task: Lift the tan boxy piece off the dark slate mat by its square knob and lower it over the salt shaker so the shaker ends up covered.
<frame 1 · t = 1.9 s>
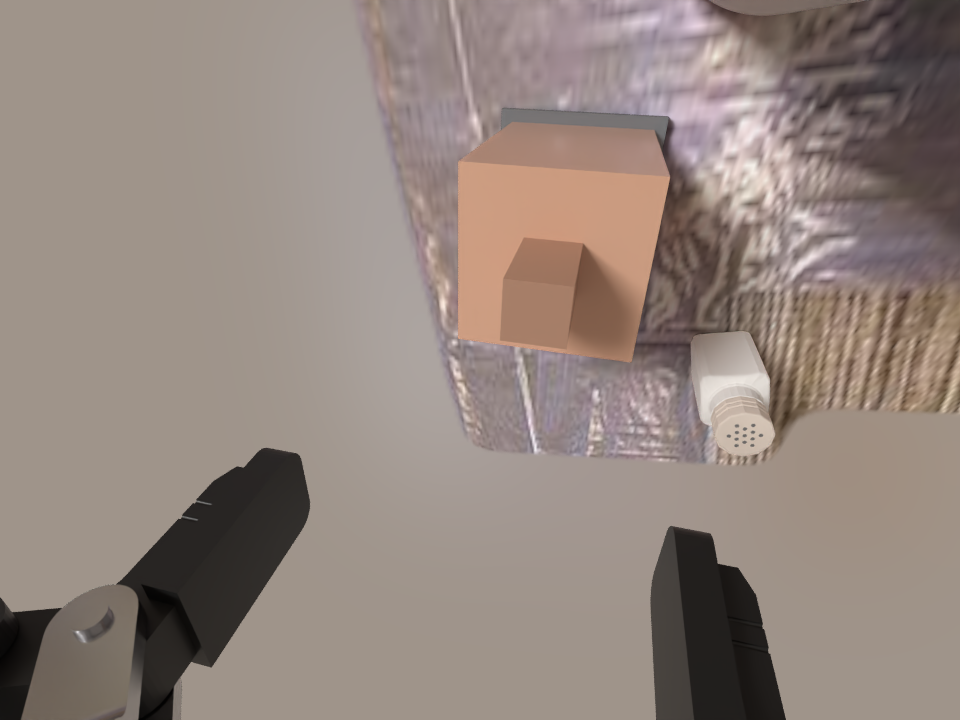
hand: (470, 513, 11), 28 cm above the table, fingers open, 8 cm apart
tan boxy piece: (573, 197, 34), point 1 cm above the table, touching mat
salt shaker: (719, 352, 38), on the table
mat: (573, 194, 35), on the table
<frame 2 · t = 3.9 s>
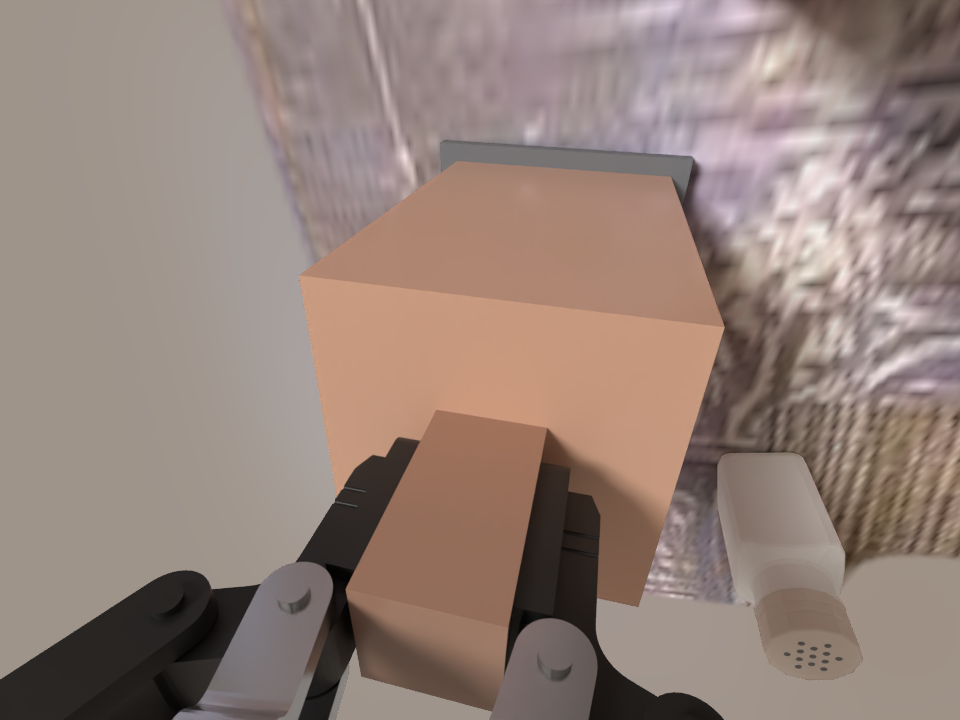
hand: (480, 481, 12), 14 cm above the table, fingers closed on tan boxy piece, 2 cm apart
tan boxy piece: (549, 268, 23), point 1 cm above the table, touching gripper, mat
salt shaker: (756, 474, 27), on the table
mat: (550, 264, 24), on the table
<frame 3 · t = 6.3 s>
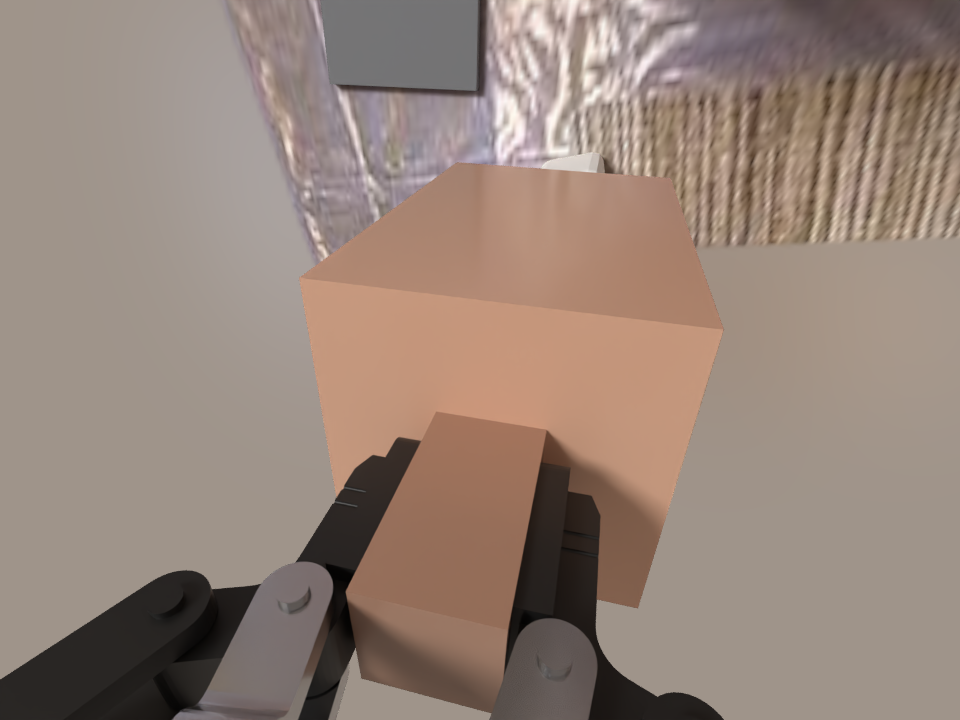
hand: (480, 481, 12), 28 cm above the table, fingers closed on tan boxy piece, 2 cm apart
tan boxy piece: (549, 270, 23), point 14 cm above the table, touching gripper
salt shaker: (575, 185, 35), on the table
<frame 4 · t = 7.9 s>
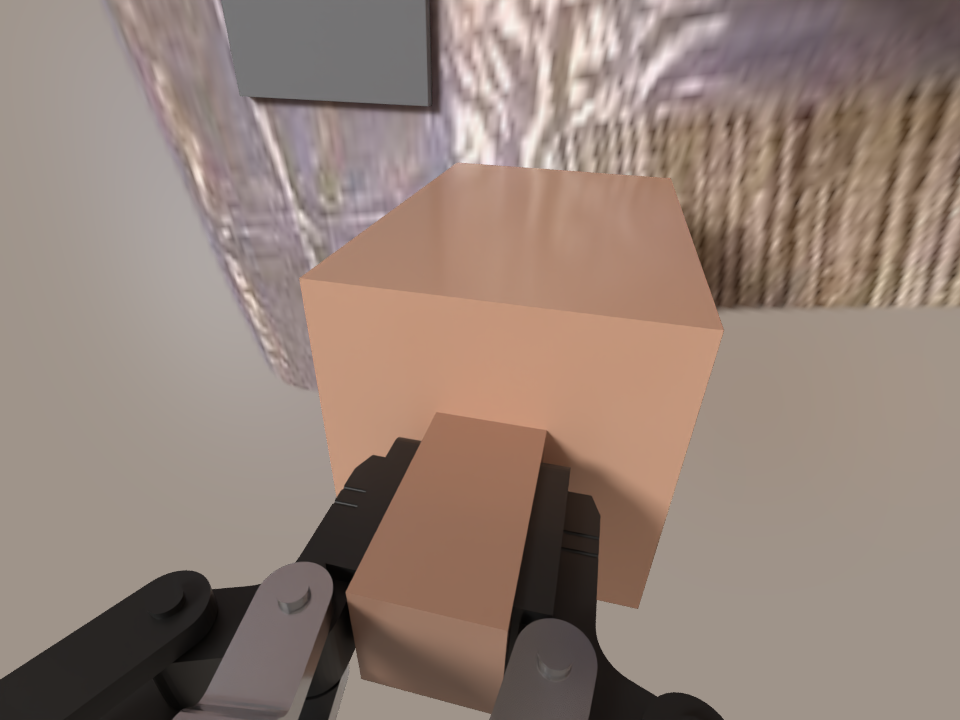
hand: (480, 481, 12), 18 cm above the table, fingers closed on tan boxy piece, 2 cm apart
tan boxy piece: (549, 270, 23), point 4 cm above the table, touching gripper
when the fingers open (14 cm above the table, at t = 8.9 s): tan boxy piece stays where it is, on the table.
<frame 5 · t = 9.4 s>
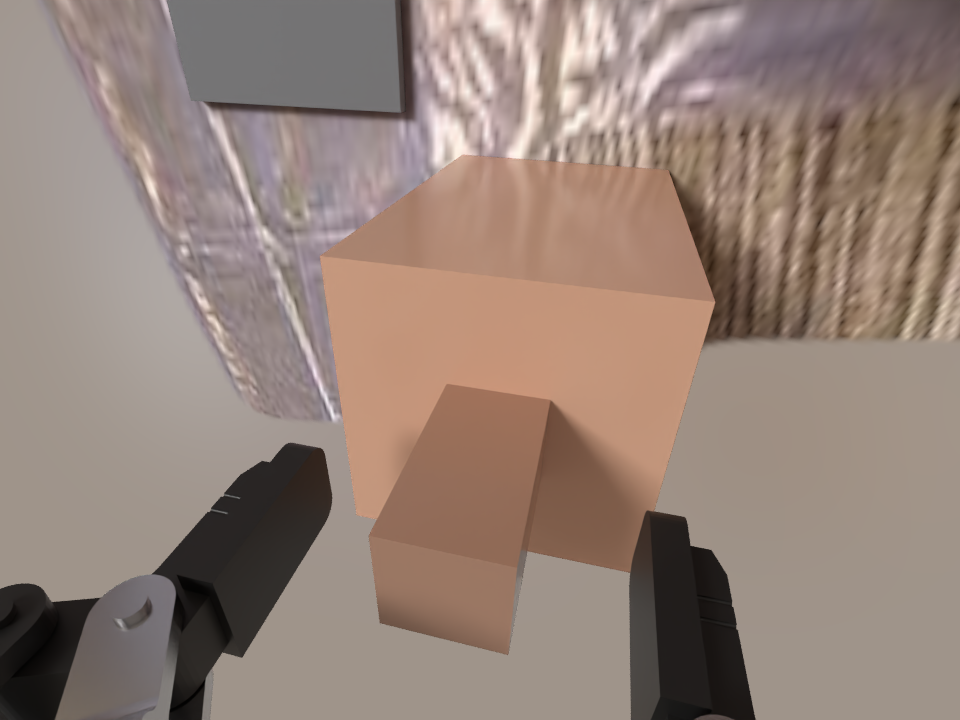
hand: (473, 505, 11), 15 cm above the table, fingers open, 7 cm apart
tan boxy piece: (551, 259, 24), on the table
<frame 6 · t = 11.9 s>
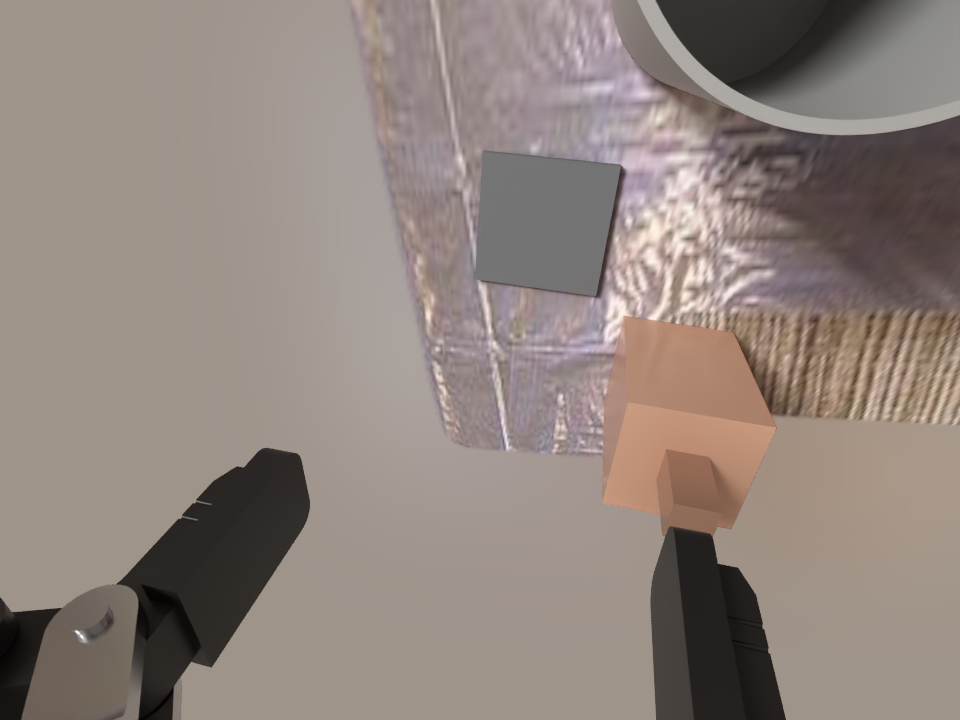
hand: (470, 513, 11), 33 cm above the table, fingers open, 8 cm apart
tan boxy piece: (664, 369, 44), on the table
mat: (542, 225, 41), on the table
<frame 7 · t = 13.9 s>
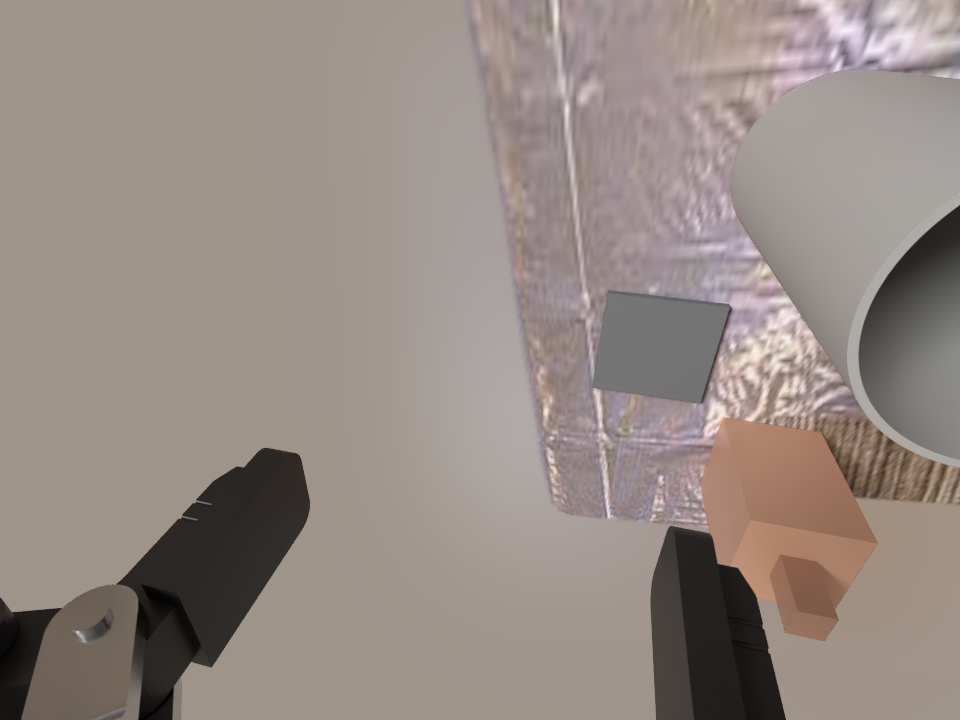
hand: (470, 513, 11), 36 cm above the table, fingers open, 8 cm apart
tan boxy piece: (757, 459, 51), on the table
cylinder vase: (823, 167, 38), on the table
mat: (655, 347, 47), on the table
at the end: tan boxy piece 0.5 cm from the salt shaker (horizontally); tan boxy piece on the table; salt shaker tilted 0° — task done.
